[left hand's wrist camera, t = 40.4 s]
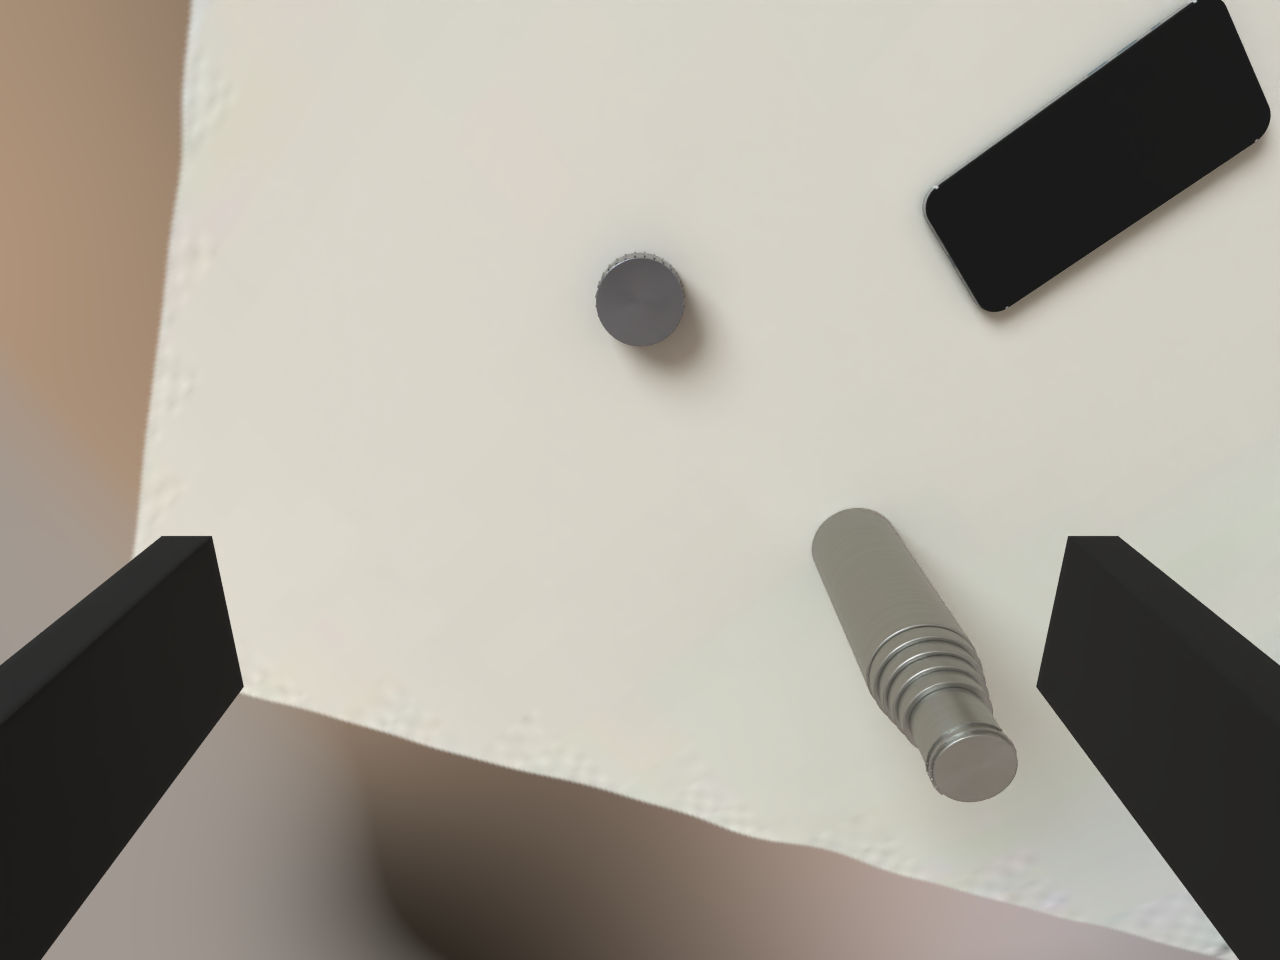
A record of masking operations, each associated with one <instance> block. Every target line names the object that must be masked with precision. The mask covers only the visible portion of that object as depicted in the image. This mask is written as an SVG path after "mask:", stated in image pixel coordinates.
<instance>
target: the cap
mask: <svg viewBox="0 0 1280 960" xmlns="http://www.w3.org/2000/svg"><path fill="white" fill-rule="evenodd" d="M682 287H683V286H682V283H681V281H679V277H678V274H677V272H675V271H674V270H673V268H672V266H671V264H670V265H669V264H668V263H667V262H666V261H664V259H663V258H662V259H661V258H659V257H657V256H655V254H653V255H652V254H647V253H646V252H644V253H636V252H634V253H633V254H628V255H626V254H625V256H623V257H621V258H619V259H616V261H615V262H613V263H612V264H611V265H609V266H608V269H607V270H606V271H605V273H604V272H603V274H602V279H601V281H599V284H598V291H597V293H596V307H597V312H598V317H599V319H600V321H601V323H602V325H603V326H604V328H605V329H606V330H607V331H608V333H609V334H610V335H612V336H613V337H614V338H616V339H617V340H619V341H621V342H623V343H625V344H628V345H633V346H647V345H652V344H655V343H658V342H660V341H662V340H663V339H665V338H666V337H667V336H669V335H670V334H671V333H672V332H673V330H674V329H675V328H676V326H677V325H678V323H679V321H680V319H681V317H682V313H683V308H684V306H685V305H684V297H685V295H684V292H683V290H682Z"/></svg>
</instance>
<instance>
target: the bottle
mask: <svg viewBox="0 0 1280 960" xmlns="http://www.w3.org/2000/svg"><path fill="white" fill-rule="evenodd" d="M812 556H813V560H814V562H815V565H816V567H817V569H818V572H819V574H820V576H821V579H822V581H823V583H824V586H825V588H826V590H827V593H828V595H829V598H830V600H831V602H832V605H833V607H834V609H835V612H836V614H837V616H838V619H839V621H840V623H841V626H842V628H843V630H844V633H845V635H846V637H847V640H848V642H849V644H850V647H851V649H852V651H853V654H854V656H855V658H856V661H857V663H858V665H859V668H860V670H861V672H862V675H863V677H864V680H865V682H866V684H867V687H868V689H869V691H870V693H871V695H872V697H873V698H874V699H875V701H876V702H877V704H878V706H879V707H880V709H881V710H882V711H883V712H884V713H885V714H886V715H887V716H888V717H889V719H890V720H891V721H892V722H893V723H894V724H895V725H896V726H897V727H898V729H899V730H900V731H901V732H902V733H903V734H904V735H905V736H906V737H907V739H908V740H909V741H910V742H911V744H913V745H914V746H915V747H917V748H918V749H919V751H920V753H921V755H922V757H923V760H924V762H925V765H926V771H927V774H928V775H929V778H930V780H931V782H932V784H933V786H934V788H935V789H936V790H937V791H938V792H939V793H940V794H941V795H942V794H944V795H946V796H947V797H949V798H951V799H954V800H957V801H962V802H976V801H982V800H985V799H988V798H991V797H993V796H995V795H997V794H999V793H1000V792H1001V791H1003V790H1004V789H1005V788H1006V787H1007V786H1008V785H1009V784H1010V783H1011V781H1012V780H1013V778H1014V776H1015V774H1016V771H1017V755H1016V749H1015V747H1014V745H1013V743H1012V741H1011V740H1010V739H1009V738H1008V737H1007V736H1006V735H1005V734H1004V733H1003V732H1002V729H1001V728H1000V727H999V725H998V724H997V722H996V721H995V719H994V717H993V709H992V704H991V701H990V699H989V693H988V689H987V687H986V682H985V677H984V675H983V670H982V665H981V662H980V660H979V658H978V656H977V654H976V651H975V648H974V647H973V645H972V643H971V642H970V640H969V639H968V637H967V636H966V634H965V633H964V631H963V630H962V628H961V627H960V625H959V624H958V622H957V621H956V620H955V618H954V617H953V615H952V614H951V612H950V611H949V609H948V608H947V606H946V605H945V603H944V602H943V600H942V599H941V597H940V596H939V594H938V593H937V591H936V590H935V589H934V587H933V586H932V584H931V583H930V581H929V580H928V578H927V577H926V575H925V574H924V572H923V571H922V569H921V568H920V566H919V565H918V563H917V562H916V560H915V559H914V557H913V556H912V555H911V553H910V552H909V550H908V549H907V547H906V546H905V544H904V543H903V541H902V540H901V538H900V537H899V535H898V534H897V532H896V531H895V529H894V528H893V526H892V525H891V524H890V522H889V521H888V520H887V519H886V518H885V517H884V516H882V515H881V514H879V513H877V512H875V511H872V510H868V509H861V508H854V509H848V510H844V511H841V512H839V513H836V514H835V515H833V516H831V517H830V518H828V519H827V520H826V521H825V522H824V523H823V524H822V525H821V526H820V528H819V529H818V531H817V533H816V535H815V537H814V540H813V544H812Z"/></svg>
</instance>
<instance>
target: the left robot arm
mask: <svg viewBox="0 0 1280 960" xmlns="http://www.w3.org/2000/svg"><path fill="white" fill-rule="evenodd" d="M243 687H244V686H243V681H242V676H241V672H240V667H239V662H238V657H237V653H236V648H235V643H234V638H233V634H232V629H231V624H230V620H229V615H228V610H227V605H226V601H225V596H224V591H223V586H222V582H221V577H220V572H219V568H218V563H217V558H216V553H215V549H214V544H213V539H212V536H161V537H160V538H159V539H158V540H156V541H155V542H154V543H153V544H151V545H150V546H149V547H148V548H146V549H145V550H144V551H143V552H141V553H140V554H139V555H138V556H136V557H135V558H134V559H133V560H131V561H130V562H129V563H128V564H126V565H125V566H124V567H123V568H121V569H120V570H119V571H118V572H117V573H115V574H114V575H113V576H111V577H110V578H109V579H108V580H106V581H105V582H104V583H103V584H101V585H100V586H99V587H98V588H96V589H95V590H94V591H93V592H91V593H90V594H89V595H88V596H87V597H85V598H84V599H83V600H82V601H80V602H79V603H78V604H77V605H75V606H74V607H73V608H72V609H70V610H69V611H68V612H67V613H65V614H64V615H63V616H61V617H60V618H59V619H58V620H57V621H55V622H54V623H53V624H52V625H50V626H49V627H48V628H46V629H45V630H44V631H43V632H41V633H40V634H39V635H38V636H37V637H35V638H34V639H33V640H31V641H30V642H29V643H28V644H27V645H25V646H24V647H23V648H22V649H20V650H19V651H18V652H17V653H15V654H14V655H13V656H12V657H10V658H9V659H8V660H7V661H5V662H4V663H3V664H2V665H0V960H41V959H42V958H43V956H44V955H45V953H46V952H47V951H48V949H49V948H50V947H51V945H52V944H53V943H54V941H55V940H56V939H57V937H58V936H59V935H60V933H61V932H62V931H63V929H64V928H65V927H66V925H67V924H68V923H69V921H70V920H71V918H72V917H73V916H74V914H75V913H76V912H77V910H78V909H79V908H80V906H81V905H82V904H83V902H84V901H85V900H86V898H87V897H88V896H89V894H90V893H91V892H92V890H93V889H94V888H95V886H96V885H97V883H98V882H99V881H100V879H101V878H102V877H103V875H104V874H105V873H106V871H107V870H108V869H109V867H110V866H111V865H112V863H113V862H114V861H115V859H116V858H117V857H118V855H119V854H120V852H121V851H122V850H123V849H124V847H125V846H126V844H127V843H128V842H129V840H130V839H131V838H132V836H133V835H134V834H135V832H136V831H137V830H138V828H139V827H140V826H141V824H142V823H143V822H144V820H145V819H146V818H147V816H148V815H149V814H150V812H151V811H152V809H153V808H154V807H155V805H156V804H157V803H158V801H159V800H160V799H161V797H162V796H163V795H164V793H165V792H166V791H167V789H168V788H169V787H170V785H171V784H172V783H173V781H174V780H175V778H176V777H177V776H178V774H179V773H180V772H181V770H182V769H183V768H184V766H185V765H186V764H187V762H188V761H189V760H190V758H191V757H192V756H193V754H194V753H195V752H196V750H197V749H198V748H199V746H200V745H201V743H202V742H203V741H204V739H205V738H206V737H207V735H208V734H209V733H210V731H211V730H212V729H213V727H214V726H215V725H216V723H217V722H218V721H219V719H220V718H221V717H222V715H223V714H224V713H225V711H226V710H227V708H228V707H229V706H230V705H231V703H232V702H233V700H234V699H235V698H236V696H237V695H238V694H239V692H240V691H241V690H242V688H243ZM1036 687H1037V688H1038V690H1039V691H1040V692H1041V694H1042V695H1043V696H1044V698H1045V699H1046V700H1047V702H1048V703H1049V705H1050V706H1051V707H1052V709H1053V710H1054V711H1055V713H1056V714H1057V715H1058V717H1059V718H1060V719H1061V721H1062V722H1063V723H1064V725H1065V726H1066V727H1067V729H1068V730H1069V731H1070V733H1071V734H1072V735H1073V737H1074V738H1075V740H1076V741H1077V742H1078V744H1079V745H1080V746H1081V748H1082V749H1083V750H1084V752H1085V753H1086V754H1087V756H1088V757H1089V758H1090V760H1091V761H1092V762H1093V764H1094V765H1095V766H1096V768H1097V769H1098V770H1099V772H1100V773H1101V775H1102V776H1103V777H1104V779H1105V780H1106V781H1107V783H1108V784H1109V785H1110V787H1111V788H1112V789H1113V791H1114V792H1115V793H1116V795H1117V796H1118V797H1119V799H1120V800H1121V801H1122V803H1123V804H1124V805H1125V807H1126V808H1127V809H1128V811H1129V812H1130V814H1131V815H1132V816H1133V818H1134V819H1135V820H1136V822H1137V823H1138V824H1139V826H1140V827H1141V828H1142V830H1143V831H1144V832H1145V834H1146V835H1147V836H1148V838H1149V839H1150V840H1151V842H1152V843H1153V844H1154V846H1155V847H1156V849H1157V850H1158V851H1159V853H1160V854H1161V855H1162V857H1163V858H1164V859H1165V861H1166V862H1167V863H1168V865H1169V866H1170V867H1171V869H1172V870H1173V871H1174V873H1175V874H1176V875H1177V877H1178V878H1179V879H1180V881H1181V882H1182V884H1183V885H1184V886H1185V888H1186V889H1187V890H1188V892H1189V893H1190V894H1191V896H1192V897H1193V898H1194V900H1195V901H1196V902H1197V904H1198V905H1199V906H1200V908H1201V909H1202V910H1203V912H1204V913H1205V914H1206V916H1207V917H1208V918H1209V920H1210V921H1211V923H1212V924H1213V925H1214V927H1215V928H1216V929H1217V931H1218V932H1219V933H1220V935H1221V936H1222V937H1223V939H1224V940H1225V941H1226V943H1227V944H1228V945H1229V947H1230V948H1231V949H1232V951H1233V952H1234V953H1235V955H1236V956H1237V958H1238V959H1239V960H1280V665H1278V664H1277V663H1276V662H1275V661H1273V660H1272V659H1271V658H1270V657H1268V656H1267V655H1266V654H1265V653H1263V652H1262V651H1261V650H1260V649H1258V648H1257V647H1256V646H1255V645H1253V644H1252V643H1251V642H1250V641H1248V640H1247V639H1246V638H1245V637H1244V636H1242V635H1241V634H1240V633H1239V632H1237V631H1236V630H1235V629H1234V628H1232V627H1231V626H1230V625H1229V624H1227V623H1226V622H1225V621H1224V620H1222V619H1221V618H1220V617H1219V616H1217V615H1216V614H1215V613H1214V612H1212V611H1211V610H1210V609H1209V608H1207V607H1206V606H1205V605H1204V604H1202V603H1201V602H1200V601H1199V600H1197V599H1196V598H1195V597H1194V596H1192V595H1191V594H1190V593H1189V592H1187V591H1186V590H1185V589H1184V588H1182V587H1181V586H1180V585H1179V584H1177V583H1176V582H1175V581H1174V580H1172V579H1171V578H1170V577H1169V576H1167V575H1166V574H1165V573H1164V572H1162V571H1161V570H1160V569H1159V568H1157V567H1156V566H1155V565H1154V564H1152V563H1151V562H1150V561H1149V560H1147V559H1146V558H1145V557H1144V556H1142V555H1141V554H1140V553H1139V552H1137V551H1136V550H1135V549H1134V548H1132V547H1131V546H1130V545H1129V544H1127V543H1126V542H1125V541H1124V540H1122V539H1121V538H1120V537H1119V536H1068V539H1067V544H1066V549H1065V553H1064V558H1063V563H1062V568H1061V572H1060V577H1059V582H1058V586H1057V591H1056V596H1055V601H1054V605H1053V610H1052V615H1051V620H1050V624H1049V629H1048V634H1047V638H1046V643H1045V648H1044V653H1043V657H1042V662H1041V667H1040V672H1039V676H1038V681H1037V686H1036Z"/></svg>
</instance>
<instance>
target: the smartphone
mask: <svg viewBox="0 0 1280 960" xmlns="http://www.w3.org/2000/svg"><path fill="white" fill-rule="evenodd" d="M1270 116H1271V115H1270V108H1269V105H1268V103H1267V101H1266V98H1265V96H1264V94H1263V91H1262V89H1261V87H1260V84H1259V82H1258V80H1257V77H1256V75H1255V73H1254V70H1253V68H1252V66H1251V63H1250V61H1249V59H1248V56H1247V54H1246V52H1245V49H1244V47H1243V45H1242V42H1241V40H1240V38H1239V35H1238V33H1237V31H1236V28H1235V26H1234V24H1233V21H1232V19H1231V17H1230V14H1229V12H1228V10H1227V7H1226V5H1225V4H1224V2H1223V1H1222V0H1191V1H1189V2H1188V3H1186V4H1185V5H1183V6H1182V7H1181V8H1179V9H1178V10H1176V11H1175V12H1174V13H1172V14H1171V15H1170V16H1168V17H1167V18H1165V19H1164V20H1163V21H1161V22H1160V23H1158V24H1157V25H1156V26H1154V27H1153V28H1152V29H1150V30H1149V31H1147V32H1146V33H1145V34H1143V35H1142V36H1140V37H1139V38H1138V39H1136V40H1135V41H1134V42H1132V43H1131V44H1129V45H1128V46H1127V47H1125V48H1124V49H1123V50H1121V51H1120V52H1118V53H1117V54H1116V55H1114V56H1113V57H1111V58H1110V59H1109V60H1107V61H1106V62H1105V63H1103V64H1102V65H1100V66H1099V67H1098V68H1096V69H1095V70H1093V71H1092V72H1091V73H1089V74H1088V75H1087V76H1085V77H1084V78H1082V79H1081V80H1080V81H1078V82H1077V83H1075V84H1074V85H1073V86H1071V87H1070V88H1069V89H1067V90H1066V91H1064V92H1063V93H1062V94H1060V95H1059V96H1057V97H1056V98H1055V99H1053V100H1052V101H1051V102H1049V103H1048V104H1046V105H1045V106H1044V107H1042V108H1041V109H1040V110H1038V111H1037V112H1035V113H1034V114H1033V115H1031V116H1030V117H1028V118H1027V119H1026V120H1024V121H1023V122H1022V123H1020V124H1019V125H1017V126H1016V127H1015V128H1013V129H1012V130H1010V131H1009V132H1008V133H1006V134H1005V135H1004V136H1002V137H1001V138H999V139H998V140H997V141H995V142H994V143H992V144H991V145H990V146H988V147H987V148H986V149H984V150H983V151H981V152H980V153H979V154H977V155H976V156H974V157H973V158H972V159H970V160H969V161H968V162H966V163H965V164H963V165H962V166H961V167H959V168H958V169H957V170H955V171H954V172H952V173H951V174H950V175H948V176H947V177H945V178H944V179H943V180H941V181H940V182H939V183H937V184H936V185H934V186H933V187H932V188H931V189H930V190H929V191H928V193H927V194H926V196H925V198H924V201H923V214H924V217H925V219H926V221H927V222H928V224H929V226H930V227H931V229H932V231H933V232H934V234H935V236H936V237H937V239H938V241H939V242H940V244H941V246H942V247H943V249H944V251H945V252H946V254H947V256H948V258H949V259H950V261H951V263H952V264H953V266H954V268H955V269H956V271H957V273H958V274H959V276H960V278H961V279H962V281H963V283H964V284H965V286H966V288H967V289H968V291H969V293H970V294H971V296H972V298H973V300H974V301H975V303H976V304H977V305H978V306H979V307H981V308H982V309H985V310H987V311H991V312H998V311H1002V310H1004V309H1006V308H1008V307H1010V306H1011V305H1013V304H1014V303H1016V302H1017V301H1019V300H1020V299H1022V298H1023V297H1025V296H1026V295H1028V294H1029V293H1031V292H1032V291H1034V290H1035V289H1037V288H1038V287H1040V286H1041V285H1042V284H1044V283H1045V282H1047V281H1048V280H1050V279H1051V278H1053V277H1054V276H1056V275H1057V274H1059V273H1060V272H1062V271H1063V270H1065V269H1066V268H1068V267H1069V266H1071V265H1072V264H1074V263H1075V262H1077V261H1078V260H1080V259H1081V258H1083V257H1084V256H1086V255H1087V254H1089V253H1090V252H1092V251H1093V250H1095V249H1096V248H1098V247H1099V246H1101V245H1102V244H1104V243H1105V242H1107V241H1108V240H1110V239H1111V238H1113V237H1114V236H1116V235H1117V234H1119V233H1120V232H1122V231H1123V230H1125V229H1126V228H1128V227H1129V226H1131V225H1132V224H1134V223H1135V222H1137V221H1138V220H1140V219H1141V218H1143V217H1144V216H1146V215H1147V214H1149V213H1150V212H1152V211H1153V210H1155V209H1156V208H1158V207H1159V206H1161V205H1162V204H1164V203H1165V202H1166V201H1168V200H1169V199H1171V198H1172V197H1174V196H1175V195H1177V194H1178V193H1180V192H1181V191H1183V190H1184V189H1186V188H1187V187H1189V186H1190V185H1192V184H1193V183H1195V182H1196V181H1198V180H1199V179H1201V178H1202V177H1204V176H1205V175H1207V174H1208V173H1210V172H1211V171H1213V170H1214V169H1216V168H1217V167H1219V166H1220V165H1222V164H1223V163H1225V162H1226V161H1228V160H1229V159H1231V158H1232V157H1234V156H1235V155H1237V154H1238V153H1240V152H1241V151H1243V150H1244V149H1246V148H1247V147H1249V146H1250V145H1252V144H1253V143H1255V142H1256V141H1257V140H1258V139H1260V138H1261V136H1262V135H1263V134H1264V133H1265V131H1266V129H1267V127H1268V125H1269V122H1270Z"/></svg>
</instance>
